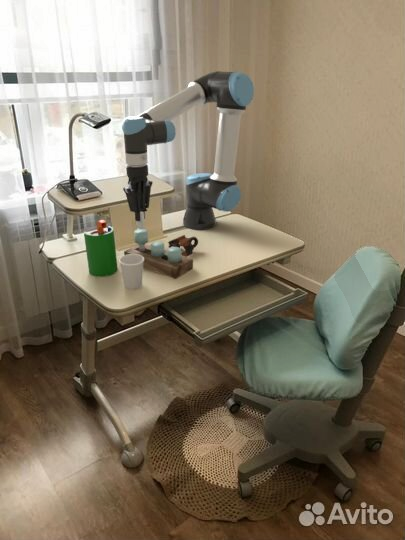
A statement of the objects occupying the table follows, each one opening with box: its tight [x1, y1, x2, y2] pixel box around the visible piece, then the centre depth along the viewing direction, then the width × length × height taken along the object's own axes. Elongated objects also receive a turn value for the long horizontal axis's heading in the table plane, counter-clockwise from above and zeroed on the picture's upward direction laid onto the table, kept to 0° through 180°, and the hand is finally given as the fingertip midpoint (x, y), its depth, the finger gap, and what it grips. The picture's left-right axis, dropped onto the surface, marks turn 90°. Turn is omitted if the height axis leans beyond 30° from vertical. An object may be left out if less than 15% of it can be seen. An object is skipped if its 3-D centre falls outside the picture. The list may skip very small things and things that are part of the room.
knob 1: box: [133, 228, 149, 252], centre depth 163 cm, size 5×5×8 cm
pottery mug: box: [167, 234, 199, 257], centre depth 172 cm, size 12×10×8 cm
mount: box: [123, 243, 194, 280], centre depth 161 cm, size 10×25×4 cm, turn 54°
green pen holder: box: [83, 219, 119, 278], centre depth 153 cm, size 10×9×20 cm
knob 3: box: [167, 247, 182, 264], centre depth 156 cm, size 5×5×8 cm
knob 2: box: [150, 241, 165, 258], centre depth 160 cm, size 5×5×8 cm
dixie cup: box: [118, 254, 144, 291], centre depth 146 cm, size 8×8×10 cm
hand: (140, 228), depth 161 cm, fingers closed
